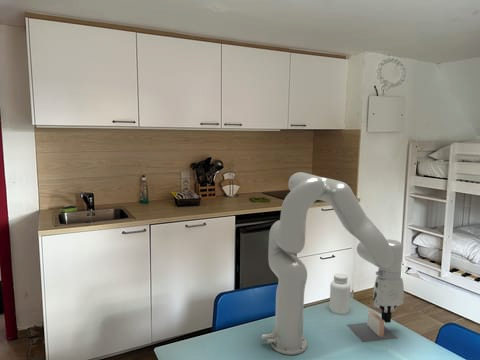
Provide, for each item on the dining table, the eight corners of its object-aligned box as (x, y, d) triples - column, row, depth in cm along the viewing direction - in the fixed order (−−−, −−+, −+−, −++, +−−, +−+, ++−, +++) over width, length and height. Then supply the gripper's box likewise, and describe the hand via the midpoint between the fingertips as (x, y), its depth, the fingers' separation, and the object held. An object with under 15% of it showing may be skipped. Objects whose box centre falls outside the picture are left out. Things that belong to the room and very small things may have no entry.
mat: (362, 343, 130) (362, 342, 130) (346, 325, 142) (346, 324, 141) (398, 339, 133) (398, 338, 133) (379, 322, 144) (379, 321, 144)
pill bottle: (336, 303, 159) (338, 270, 157) (353, 311, 153) (355, 276, 151) (325, 309, 154) (326, 275, 152) (341, 317, 148) (343, 281, 146)
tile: (378, 337, 133) (379, 321, 132) (367, 325, 141) (367, 310, 140) (383, 336, 134) (384, 320, 133) (371, 325, 141) (372, 310, 141)
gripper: (376, 279, 130) (373, 328, 133) (414, 276, 133) (410, 324, 136) (365, 271, 137) (362, 317, 140) (401, 268, 140) (397, 314, 143)
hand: (386, 320), depth 138 cm, fingers closed
